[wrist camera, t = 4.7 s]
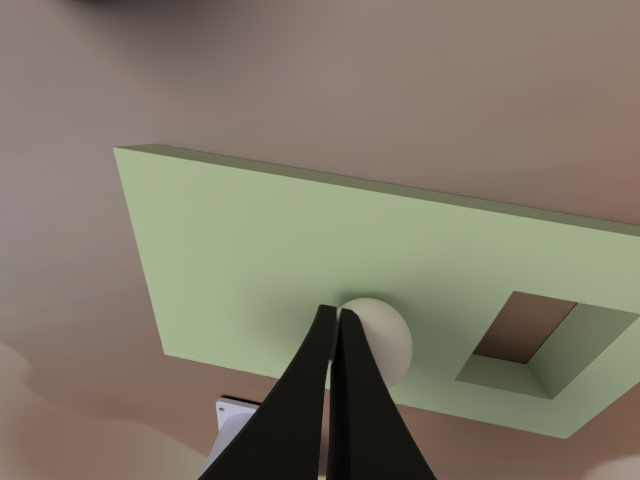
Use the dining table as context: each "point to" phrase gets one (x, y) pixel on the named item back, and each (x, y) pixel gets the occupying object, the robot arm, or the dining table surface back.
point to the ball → (382, 337)
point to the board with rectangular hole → (384, 280)
